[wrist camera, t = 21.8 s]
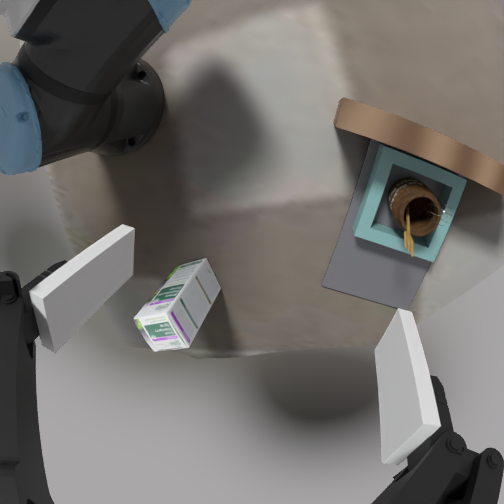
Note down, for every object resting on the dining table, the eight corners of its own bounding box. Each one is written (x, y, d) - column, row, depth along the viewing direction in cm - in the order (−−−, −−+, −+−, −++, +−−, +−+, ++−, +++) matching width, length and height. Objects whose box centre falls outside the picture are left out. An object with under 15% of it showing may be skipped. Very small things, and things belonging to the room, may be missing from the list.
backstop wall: (333, 123, 37) (335, 127, 28) (339, 100, 35) (343, 97, 27) (492, 187, 34) (528, 209, 26) (499, 167, 33) (537, 185, 24)
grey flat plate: (321, 284, 46) (321, 285, 46) (371, 135, 36) (372, 135, 36) (405, 309, 45) (406, 310, 45) (465, 173, 35) (466, 174, 34)
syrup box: (206, 256, 49) (165, 311, 36) (222, 289, 50) (188, 350, 38) (176, 265, 51) (130, 318, 38) (192, 296, 52) (153, 354, 40)
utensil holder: (436, 201, 37) (470, 235, 26) (401, 230, 40) (423, 272, 29) (411, 166, 36) (441, 189, 26) (375, 196, 39) (391, 230, 28)
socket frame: (352, 227, 41) (354, 235, 39) (379, 143, 36) (384, 146, 33) (427, 252, 40) (433, 262, 37) (458, 175, 35) (467, 180, 32)
